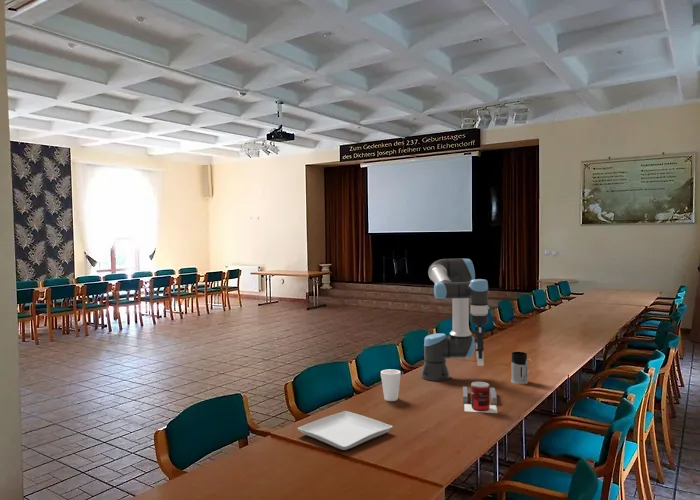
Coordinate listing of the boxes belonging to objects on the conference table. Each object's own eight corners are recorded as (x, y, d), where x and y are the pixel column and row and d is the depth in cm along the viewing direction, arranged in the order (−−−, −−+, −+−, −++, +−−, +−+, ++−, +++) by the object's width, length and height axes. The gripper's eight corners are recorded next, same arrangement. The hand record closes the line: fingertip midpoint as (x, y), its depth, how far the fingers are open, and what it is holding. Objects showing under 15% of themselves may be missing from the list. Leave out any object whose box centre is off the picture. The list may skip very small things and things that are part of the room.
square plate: (296, 436, 205) (296, 426, 205) (345, 418, 225) (345, 409, 225) (344, 456, 186) (344, 445, 186) (394, 434, 206) (394, 424, 205)
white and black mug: (520, 378, 279) (520, 350, 279) (539, 385, 266) (539, 356, 266) (507, 380, 276) (506, 352, 276) (525, 387, 263) (525, 358, 262)
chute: (463, 411, 229) (463, 404, 229) (462, 392, 257) (462, 386, 257) (498, 413, 226) (498, 406, 226) (494, 393, 254) (494, 387, 254)
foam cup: (384, 402, 243) (384, 375, 243) (378, 397, 252) (378, 370, 252) (404, 400, 246) (403, 373, 245) (397, 395, 255) (396, 368, 254)
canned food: (476, 404, 238) (475, 380, 238) (492, 407, 233) (492, 383, 232) (468, 409, 232) (467, 384, 232) (485, 412, 227) (484, 387, 227)
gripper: (489, 319, 219) (490, 369, 220) (486, 310, 244) (487, 355, 244) (471, 318, 221) (471, 368, 221) (470, 310, 245) (470, 354, 246)
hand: (479, 361), depth 233 cm, fingers open, 13 cm apart
